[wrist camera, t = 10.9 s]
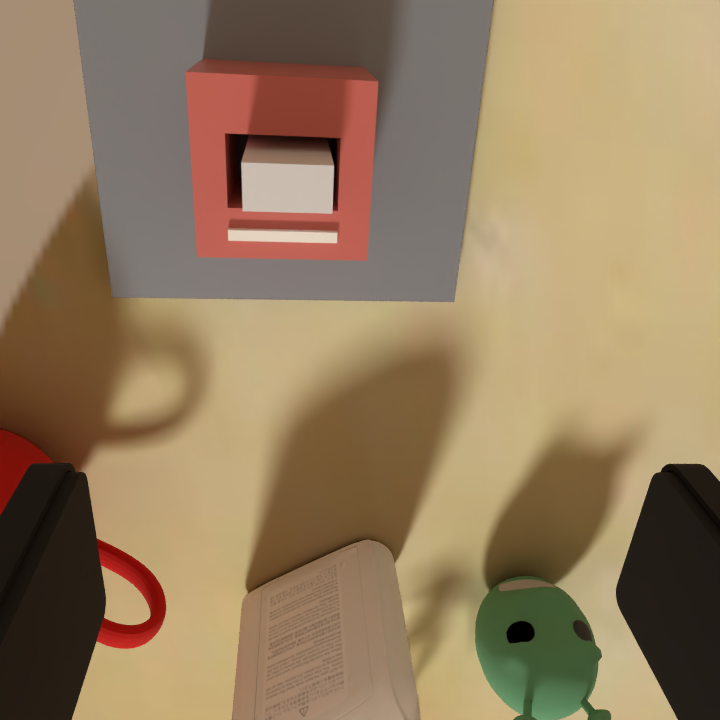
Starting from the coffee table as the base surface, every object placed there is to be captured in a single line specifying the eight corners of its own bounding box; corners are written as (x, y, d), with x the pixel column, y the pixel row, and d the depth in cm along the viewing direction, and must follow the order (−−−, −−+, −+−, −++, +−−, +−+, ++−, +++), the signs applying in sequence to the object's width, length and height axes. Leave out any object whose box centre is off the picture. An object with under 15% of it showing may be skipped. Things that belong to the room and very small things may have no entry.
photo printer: (267, 632, 45) (261, 837, 34) (231, 594, 43) (211, 798, 32) (405, 568, 43) (444, 762, 32) (373, 525, 41) (404, 716, 30)
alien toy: (579, 542, 43) (653, 681, 34) (552, 626, 47) (613, 771, 38) (473, 542, 42) (521, 685, 34) (454, 627, 46) (493, 776, 37)
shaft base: (487, -32, 27) (562, -42, 20) (447, 289, 34) (492, 373, 26) (76, -60, 26) (-11, -81, 18) (119, 285, 32) (68, 372, 25)
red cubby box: (364, 67, 27) (379, 82, 23) (355, 222, 30) (367, 262, 26) (202, 58, 26) (184, 72, 22) (210, 218, 30) (196, 259, 25)
